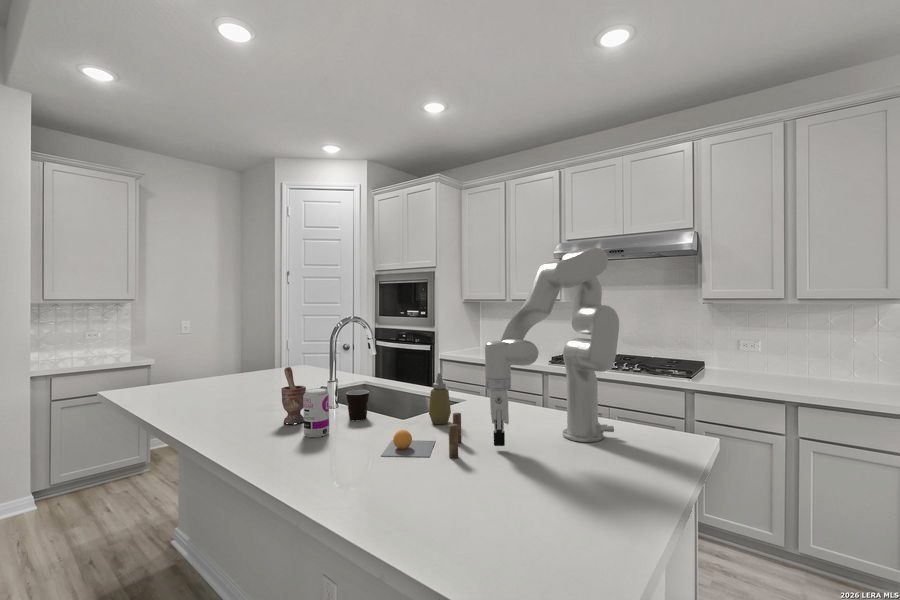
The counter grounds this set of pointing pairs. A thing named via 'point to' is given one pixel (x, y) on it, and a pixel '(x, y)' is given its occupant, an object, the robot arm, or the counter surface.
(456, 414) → the post
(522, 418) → the counter surface
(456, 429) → the post
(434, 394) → the squeeze bottle
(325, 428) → the supplement can
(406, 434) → the ball
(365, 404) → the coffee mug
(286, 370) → the mortar and pestle
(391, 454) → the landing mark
